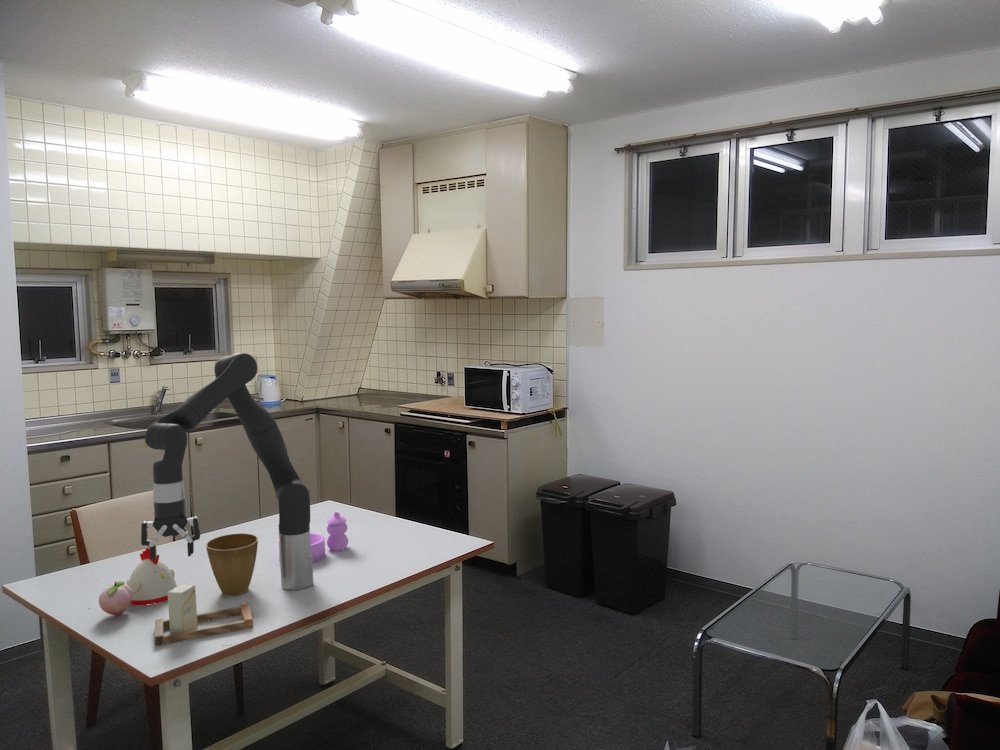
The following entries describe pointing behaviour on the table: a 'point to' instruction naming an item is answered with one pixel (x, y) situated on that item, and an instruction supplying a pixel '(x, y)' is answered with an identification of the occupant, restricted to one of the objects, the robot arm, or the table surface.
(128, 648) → the table surface
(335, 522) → the container set
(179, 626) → the skincare box
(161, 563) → the kitchen timer
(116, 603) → the decorative fruit
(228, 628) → the rectangular wooden frame
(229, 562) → the plant pot
